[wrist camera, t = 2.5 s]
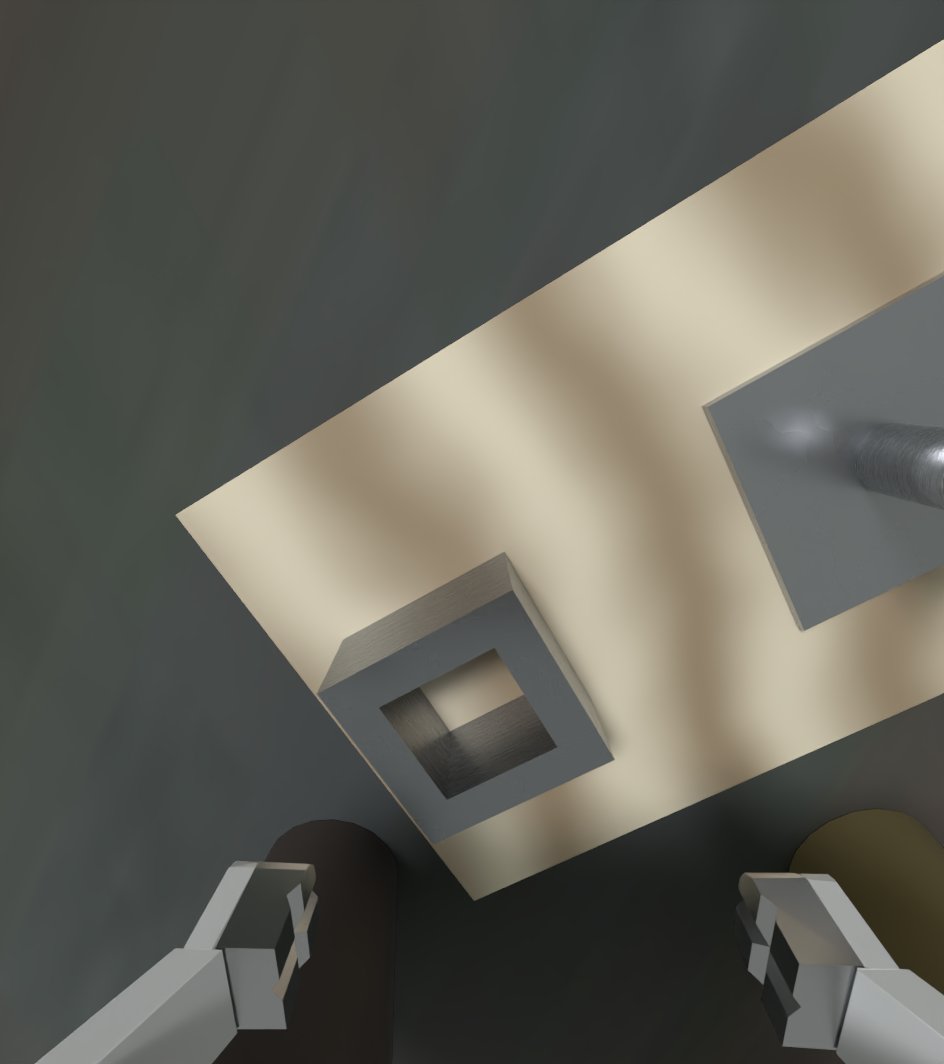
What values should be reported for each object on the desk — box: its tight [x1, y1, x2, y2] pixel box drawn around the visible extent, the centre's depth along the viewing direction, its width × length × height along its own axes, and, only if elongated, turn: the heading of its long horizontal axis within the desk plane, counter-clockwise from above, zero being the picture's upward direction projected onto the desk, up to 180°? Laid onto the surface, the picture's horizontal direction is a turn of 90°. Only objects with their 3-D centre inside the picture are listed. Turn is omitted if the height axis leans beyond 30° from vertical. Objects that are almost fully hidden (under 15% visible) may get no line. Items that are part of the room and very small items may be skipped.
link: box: [317, 552, 615, 844], centre depth 15 cm, size 6×6×3 cm
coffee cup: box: [212, 820, 397, 1064], centre depth 16 cm, size 8×8×10 cm
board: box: [176, 40, 944, 901], centre depth 16 cm, size 24×18×1 cm
